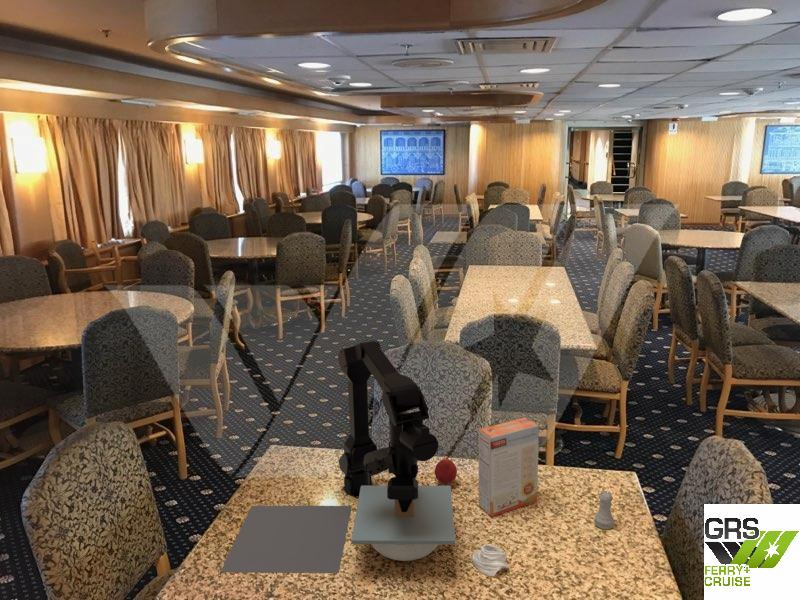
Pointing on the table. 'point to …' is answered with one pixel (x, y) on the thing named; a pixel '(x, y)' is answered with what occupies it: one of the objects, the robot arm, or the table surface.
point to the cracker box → (508, 465)
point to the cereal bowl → (404, 550)
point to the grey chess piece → (604, 511)
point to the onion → (445, 471)
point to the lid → (404, 517)
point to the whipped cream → (489, 560)
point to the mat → (290, 540)
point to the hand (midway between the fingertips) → (404, 506)
